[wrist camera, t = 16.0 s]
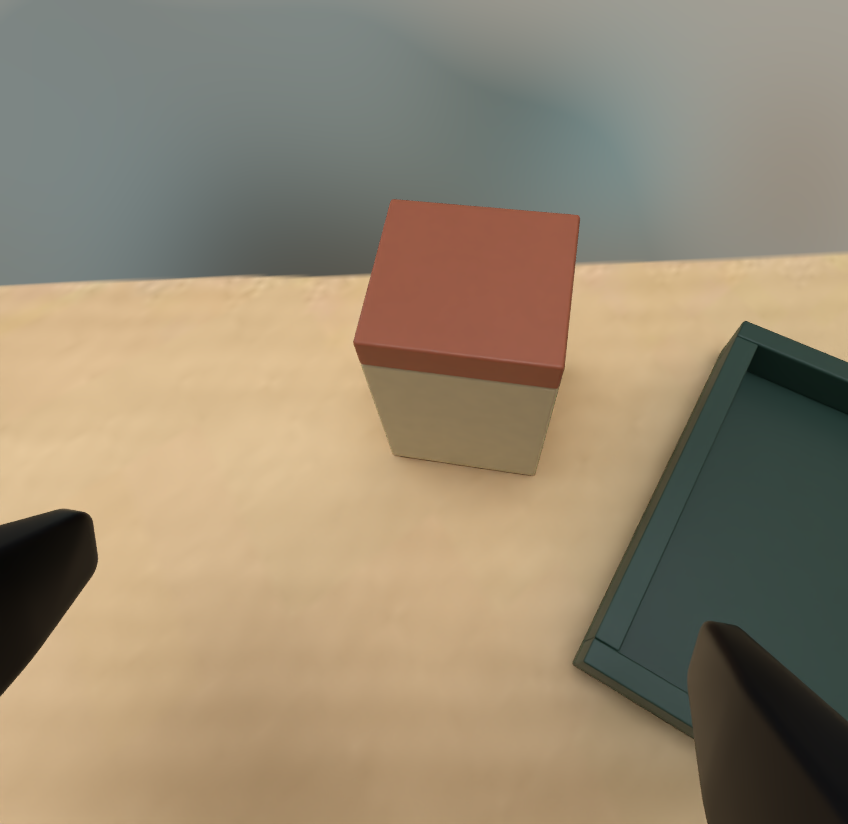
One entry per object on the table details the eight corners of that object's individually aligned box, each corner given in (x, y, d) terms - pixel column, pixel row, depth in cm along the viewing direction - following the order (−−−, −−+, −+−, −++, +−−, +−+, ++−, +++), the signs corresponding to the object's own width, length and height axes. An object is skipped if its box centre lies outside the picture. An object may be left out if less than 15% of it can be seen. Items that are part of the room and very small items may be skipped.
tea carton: (534, 476, 23) (564, 369, 15) (392, 455, 24) (351, 343, 16) (548, 361, 25) (580, 214, 17) (416, 345, 26) (390, 197, 18)
